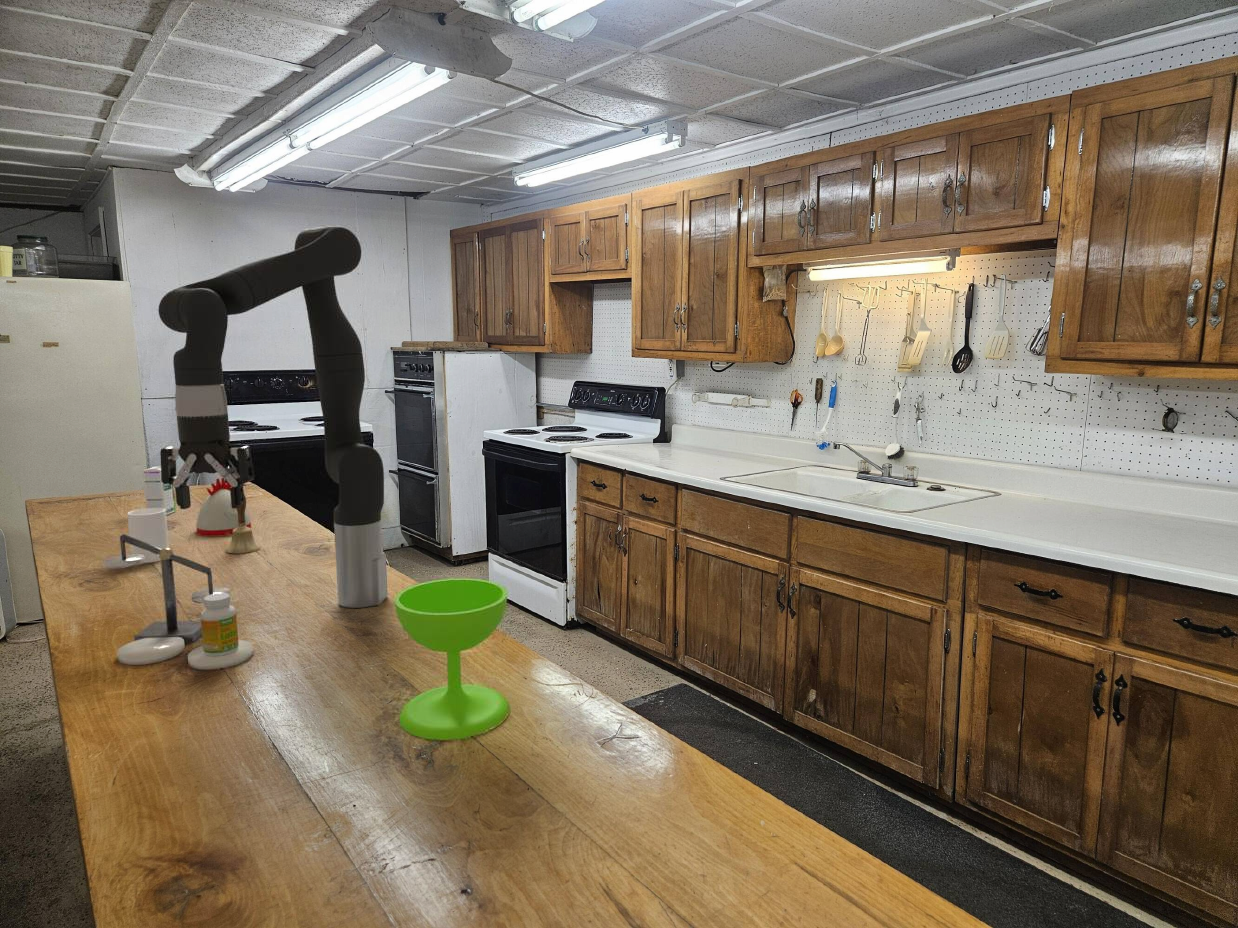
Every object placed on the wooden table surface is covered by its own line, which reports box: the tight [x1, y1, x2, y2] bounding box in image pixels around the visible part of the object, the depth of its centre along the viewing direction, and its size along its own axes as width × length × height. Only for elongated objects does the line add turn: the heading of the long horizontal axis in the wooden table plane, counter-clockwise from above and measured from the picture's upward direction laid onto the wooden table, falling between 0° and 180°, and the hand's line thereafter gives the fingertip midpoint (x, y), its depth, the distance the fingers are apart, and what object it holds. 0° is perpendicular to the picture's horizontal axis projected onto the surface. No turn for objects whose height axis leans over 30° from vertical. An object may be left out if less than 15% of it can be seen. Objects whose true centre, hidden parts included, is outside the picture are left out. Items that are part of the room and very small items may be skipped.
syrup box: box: [142, 465, 177, 516], centre depth 240 cm, size 6×6×14 cm
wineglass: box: [393, 577, 511, 741], centre depth 113 cm, size 16×16×18 cm
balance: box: [102, 533, 232, 644], centre depth 142 cm, size 21×7×19 cm, turn 95°
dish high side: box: [117, 636, 186, 666], centre depth 136 cm, size 10×10×1 cm
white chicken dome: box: [196, 477, 252, 537], centre depth 221 cm, size 14×14×15 cm
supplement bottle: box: [200, 593, 239, 656], centre depth 133 cm, size 5×5×10 cm
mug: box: [127, 507, 170, 564], centre depth 194 cm, size 12×8×12 cm
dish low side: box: [187, 639, 254, 671], centre depth 134 cm, size 10×10×1 cm
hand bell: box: [225, 493, 262, 555], centre depth 200 cm, size 8×8×16 cm
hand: (211, 507), depth 132 cm, fingers open, 8 cm apart
